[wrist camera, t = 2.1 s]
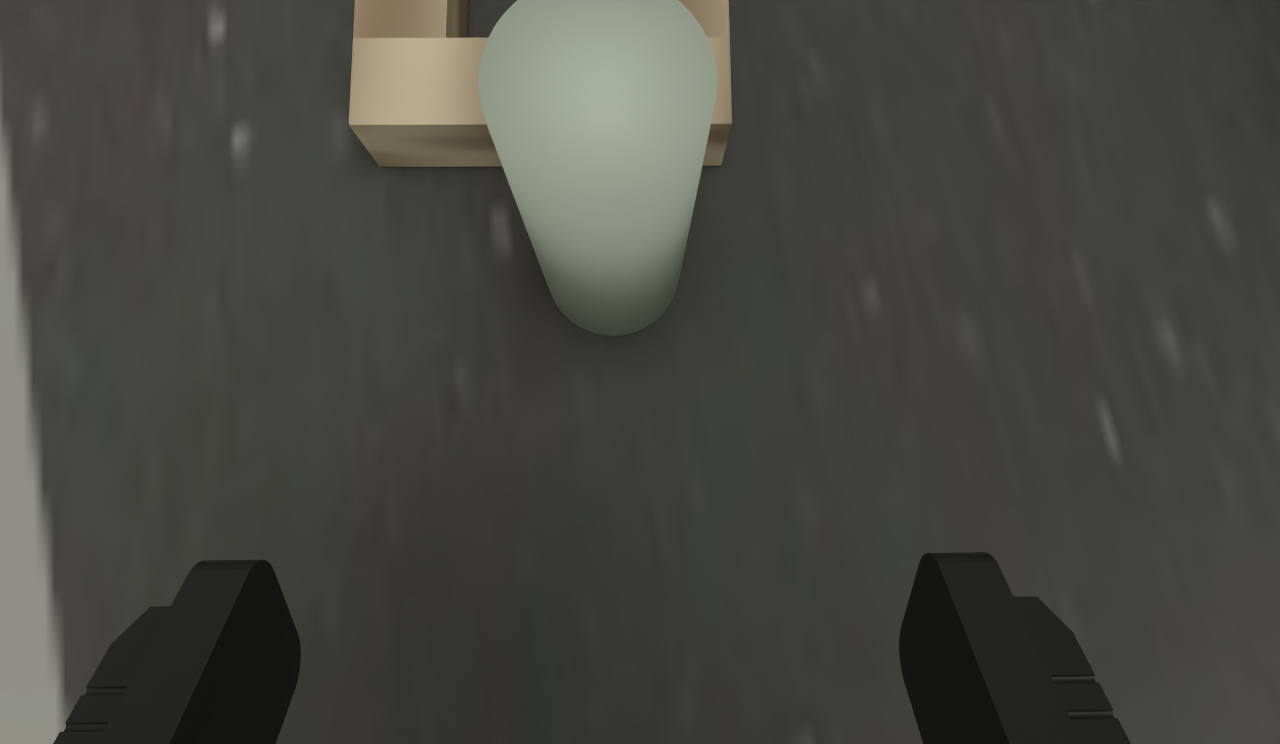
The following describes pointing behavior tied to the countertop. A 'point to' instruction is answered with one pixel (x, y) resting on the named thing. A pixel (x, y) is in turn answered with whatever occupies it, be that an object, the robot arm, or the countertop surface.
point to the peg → (602, 146)
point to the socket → (461, 83)
